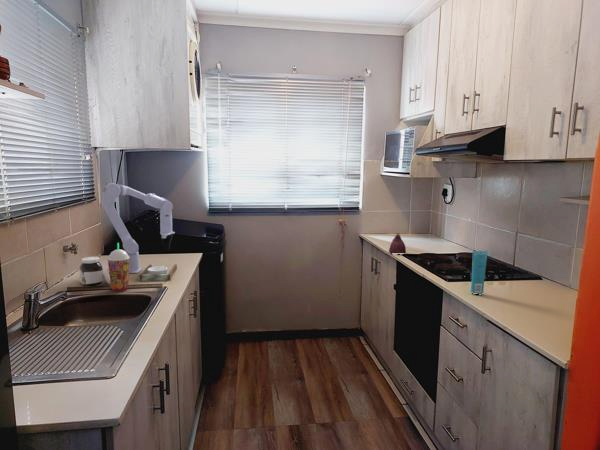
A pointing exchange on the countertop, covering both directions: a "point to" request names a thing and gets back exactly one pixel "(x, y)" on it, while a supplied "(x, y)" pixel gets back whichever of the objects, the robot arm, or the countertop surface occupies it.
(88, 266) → the spread jar
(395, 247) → the vegetable
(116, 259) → the smoothie
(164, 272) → the ramekin
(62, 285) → the countertop surface
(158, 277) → the channel
